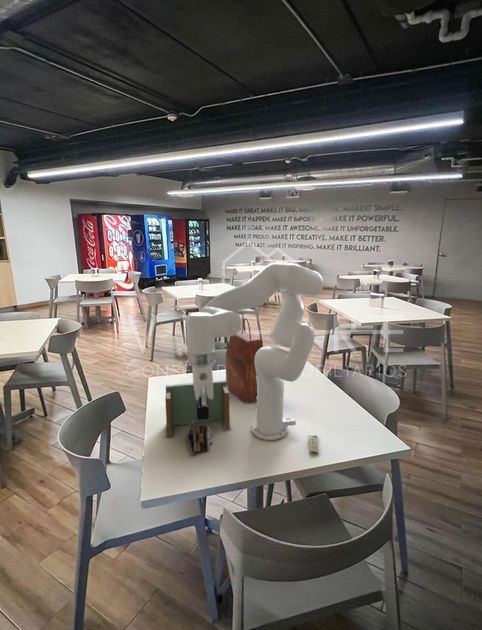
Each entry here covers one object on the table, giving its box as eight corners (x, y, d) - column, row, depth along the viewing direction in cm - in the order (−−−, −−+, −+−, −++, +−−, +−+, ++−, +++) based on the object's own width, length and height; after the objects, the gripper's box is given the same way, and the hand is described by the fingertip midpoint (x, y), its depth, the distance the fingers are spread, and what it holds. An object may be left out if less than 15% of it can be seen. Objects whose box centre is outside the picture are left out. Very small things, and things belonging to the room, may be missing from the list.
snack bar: (319, 452, 108) (310, 449, 108) (317, 456, 108) (308, 452, 108) (317, 435, 117) (309, 432, 117) (315, 439, 118) (308, 435, 118)
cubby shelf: (226, 417, 130) (225, 380, 127) (229, 429, 122) (229, 389, 119) (167, 424, 125) (165, 385, 122) (167, 437, 116) (165, 395, 113)
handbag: (245, 404, 141) (246, 323, 134) (225, 387, 158) (225, 315, 150) (266, 398, 147) (268, 321, 140) (245, 383, 163) (245, 312, 156)
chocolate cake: (214, 455, 108) (215, 417, 114) (193, 453, 105) (195, 415, 111) (204, 461, 114) (206, 425, 121) (184, 460, 112) (187, 424, 118)
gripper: (218, 365, 87) (219, 429, 90) (211, 348, 101) (212, 404, 105) (188, 367, 85) (190, 433, 88) (186, 349, 99) (188, 406, 103)
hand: (202, 417), depth 97 cm, fingers closed
